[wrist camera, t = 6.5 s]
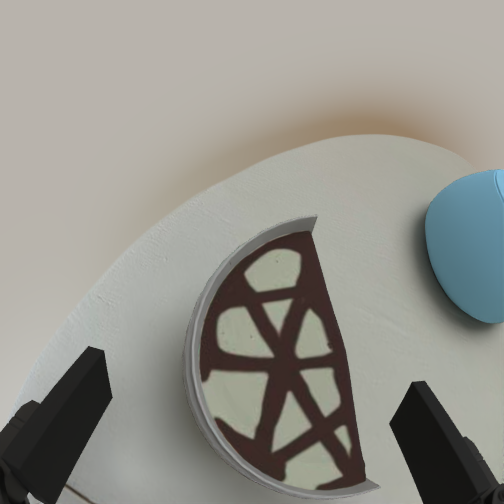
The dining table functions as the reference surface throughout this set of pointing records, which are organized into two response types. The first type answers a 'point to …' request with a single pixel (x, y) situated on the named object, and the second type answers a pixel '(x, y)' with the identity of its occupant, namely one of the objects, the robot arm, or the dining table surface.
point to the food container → (275, 369)
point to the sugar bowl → (470, 243)
